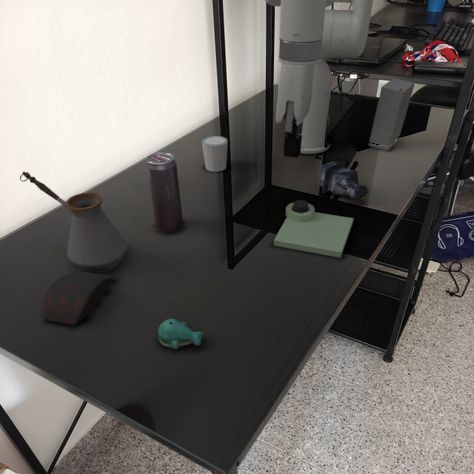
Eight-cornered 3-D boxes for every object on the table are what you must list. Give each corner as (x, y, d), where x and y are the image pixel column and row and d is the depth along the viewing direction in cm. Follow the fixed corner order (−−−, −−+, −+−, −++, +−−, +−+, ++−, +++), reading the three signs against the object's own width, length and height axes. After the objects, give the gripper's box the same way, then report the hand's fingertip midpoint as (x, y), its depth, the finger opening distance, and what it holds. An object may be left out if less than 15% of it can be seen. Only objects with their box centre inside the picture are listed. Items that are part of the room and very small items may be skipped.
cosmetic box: (378, 137, 130) (391, 77, 118) (401, 142, 127) (416, 81, 115) (366, 146, 125) (378, 84, 114) (390, 152, 122) (405, 89, 111)
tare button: (295, 205, 96) (295, 198, 95) (309, 207, 95) (309, 201, 94) (291, 212, 94) (291, 205, 93) (305, 214, 93) (306, 208, 92)
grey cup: (225, 173, 114) (224, 146, 109) (200, 171, 115) (198, 144, 110) (231, 163, 119) (230, 136, 113) (206, 161, 120) (205, 134, 115)
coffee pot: (141, 254, 88) (126, 183, 77) (102, 284, 81) (79, 211, 70) (67, 228, 96) (44, 159, 85) (26, 253, 89) (-5, 182, 78)
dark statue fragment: (358, 209, 100) (363, 182, 95) (314, 190, 106) (317, 164, 102) (374, 200, 103) (380, 173, 98) (330, 182, 109) (334, 156, 105)
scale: (289, 212, 99) (290, 200, 97) (353, 222, 95) (355, 210, 93) (271, 245, 90) (271, 232, 87) (340, 258, 86) (343, 245, 84)
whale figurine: (167, 325, 73) (164, 308, 70) (208, 332, 72) (206, 315, 69) (153, 349, 69) (150, 332, 66) (197, 357, 68) (195, 340, 65)
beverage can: (172, 216, 98) (163, 149, 88) (188, 226, 95) (181, 157, 85) (151, 226, 96) (139, 158, 85) (167, 236, 93) (157, 166, 82)
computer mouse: (40, 320, 74) (32, 302, 71) (80, 274, 83) (74, 256, 81) (82, 327, 73) (76, 309, 70) (118, 280, 82) (113, 262, 79)
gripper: (289, 40, 82) (283, 140, 95) (267, 59, 72) (264, 168, 86) (328, 42, 80) (317, 144, 93) (311, 62, 70) (301, 173, 84)
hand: (292, 155), depth 89 cm, fingers closed
